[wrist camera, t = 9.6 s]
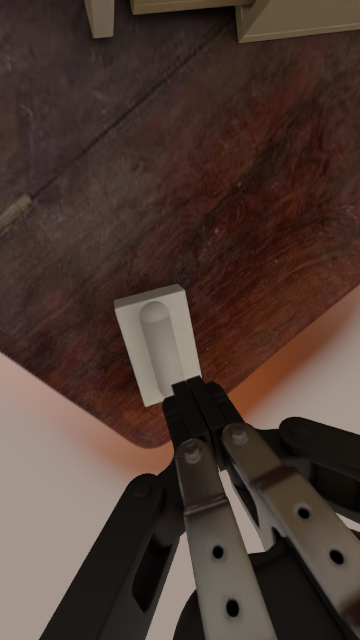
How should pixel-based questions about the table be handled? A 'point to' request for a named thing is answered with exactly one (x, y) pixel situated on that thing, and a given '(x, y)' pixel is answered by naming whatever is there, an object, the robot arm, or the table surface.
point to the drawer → (144, 10)
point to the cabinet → (295, 18)
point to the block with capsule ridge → (158, 340)
